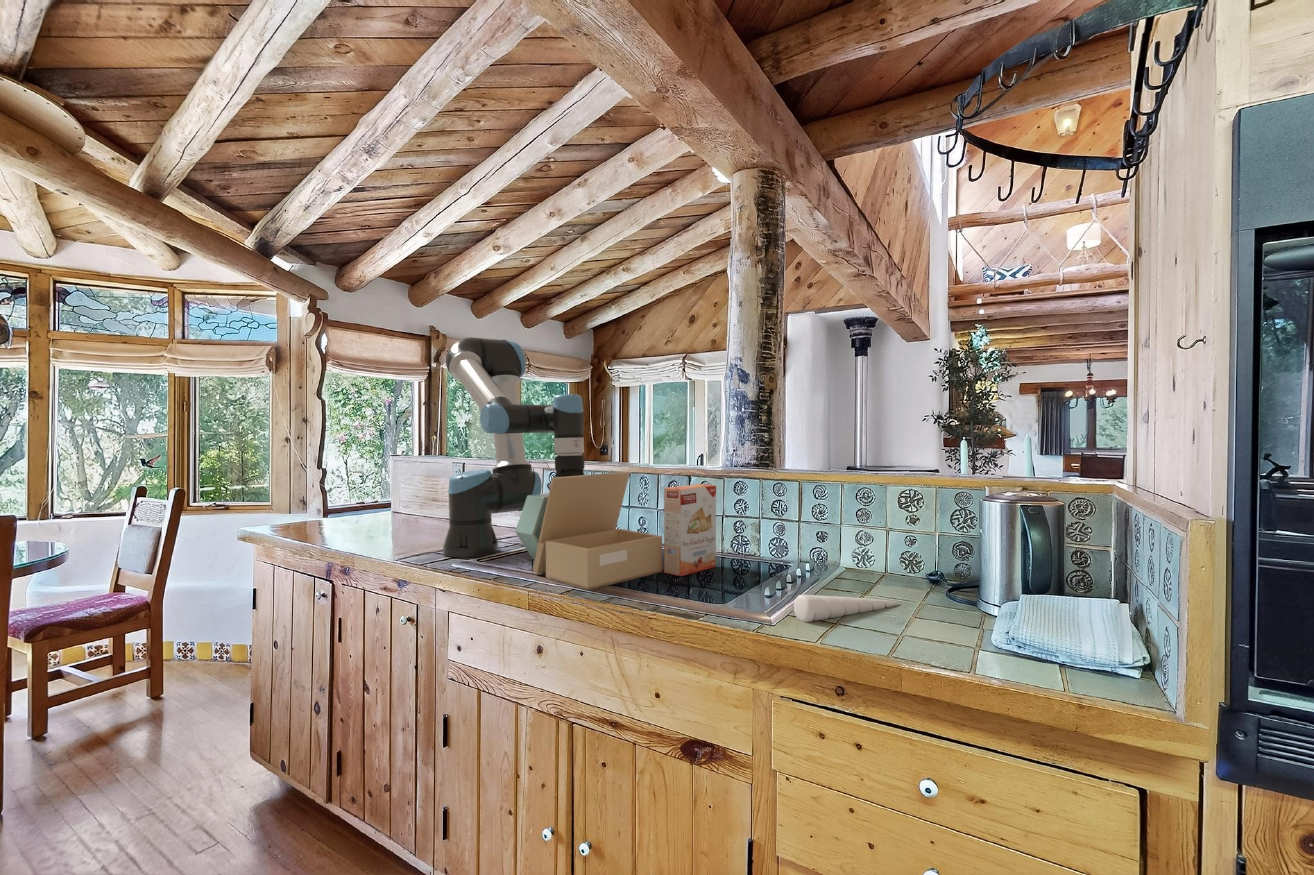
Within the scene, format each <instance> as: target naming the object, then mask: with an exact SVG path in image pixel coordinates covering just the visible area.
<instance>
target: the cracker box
mask: <svg viewBox="0 0 1314 875" xmlns="http://www.w3.org/2000/svg"><path fill="white" fill-rule="evenodd" d="M716 534H717V485H714V484H705V483H704V484H703V483H701V484H700V483H699V484H690V485H681V486H672V487H671V486H670V487H664V488H663V573H664V574H668V575H672V576H676V577H684V576H688V575H690V574H694V573H698V572H702V571H705V570H708V569H711V568H712V569H713V568H715V567H717V566H716V564H717V562H716V561H717V559H716V557H717V556H716V554H717V552H716V551H717V548H716V547H717V542H716V541H717V535H716Z"/></svg>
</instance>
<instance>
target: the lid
mask: <svg viewBox="0 0 1314 875" xmlns="http://www.w3.org/2000/svg"><path fill="white" fill-rule="evenodd" d="M630 474H631V473H630V471H623V472H607V473H596V474H584V475H580V476H568V477H555V476H554V477H551V481H550V483H551V486H550V490H549V492H548V493H549V495H548V500H547V505H546V509H545V514H544V519H543V524H542V528H541V533H540V538H539V542H538V547H537V552H536V556H535V559H534V562H533V566H532V571H533V572H534V573H535V574H536V575H540V574H546V543H545V541H548V540H554V539H560V538H566V537H572V536H578V535H584V534H590V533H597V532H603V531H609V530H615V529H617V525H618V521H619V517H620V515H621V510H622V505H623V502H624V497H625V494H626V489H627V485H628V481H629V478H630Z"/></svg>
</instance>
